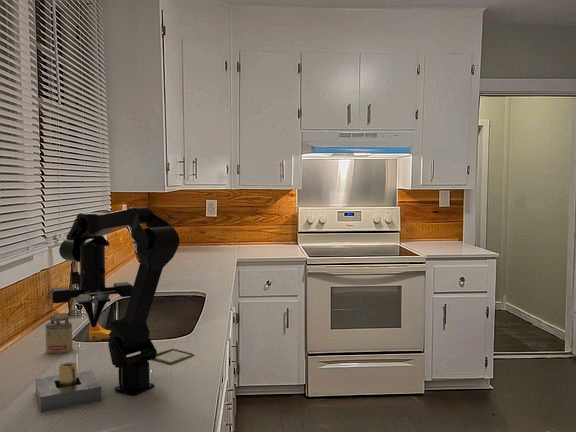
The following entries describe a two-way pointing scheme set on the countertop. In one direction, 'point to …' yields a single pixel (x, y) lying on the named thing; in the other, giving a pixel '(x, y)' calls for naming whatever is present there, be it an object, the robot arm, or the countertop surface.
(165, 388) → the countertop surface
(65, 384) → the bushing
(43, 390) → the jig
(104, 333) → the pipe clamp
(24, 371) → the countertop surface
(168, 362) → the olive piece
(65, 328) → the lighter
